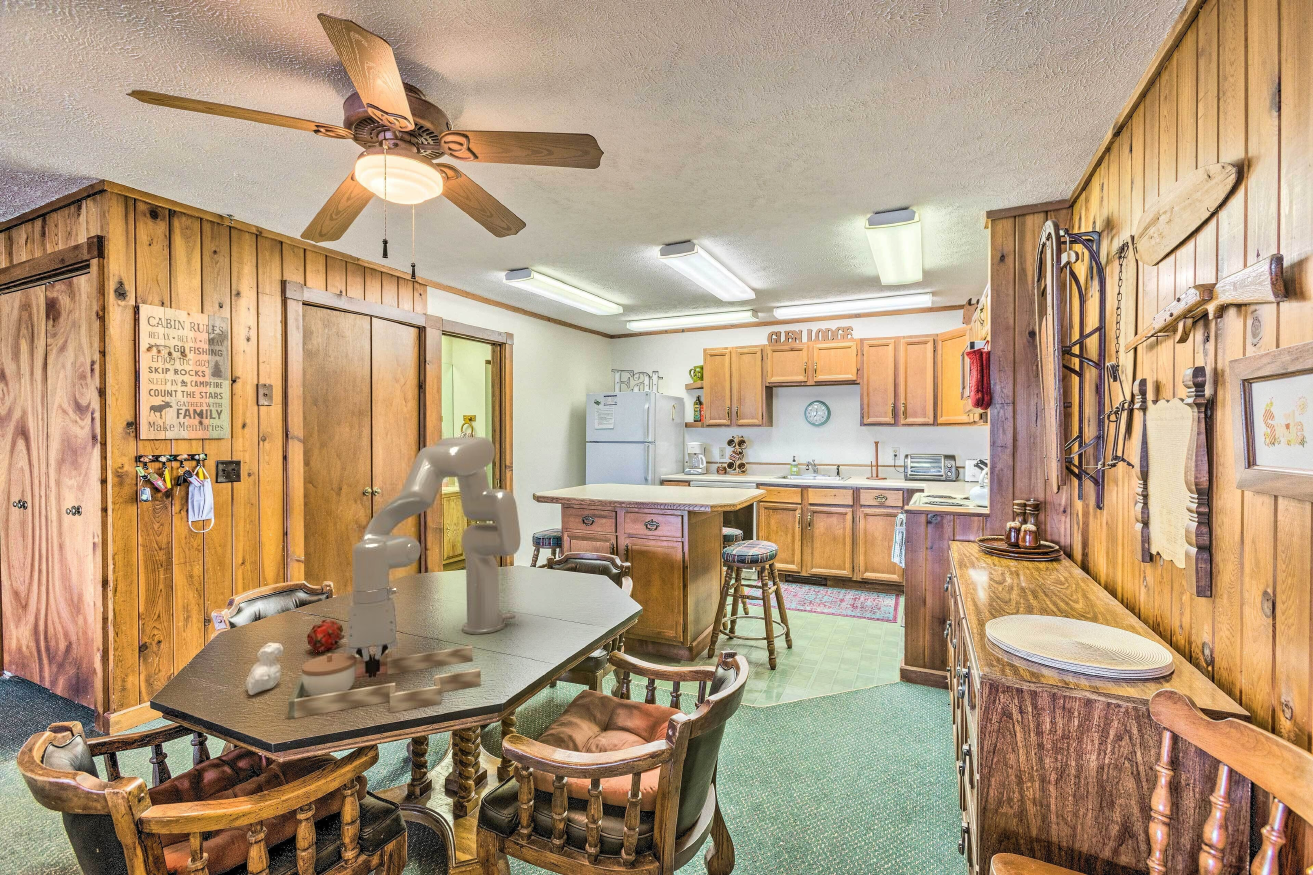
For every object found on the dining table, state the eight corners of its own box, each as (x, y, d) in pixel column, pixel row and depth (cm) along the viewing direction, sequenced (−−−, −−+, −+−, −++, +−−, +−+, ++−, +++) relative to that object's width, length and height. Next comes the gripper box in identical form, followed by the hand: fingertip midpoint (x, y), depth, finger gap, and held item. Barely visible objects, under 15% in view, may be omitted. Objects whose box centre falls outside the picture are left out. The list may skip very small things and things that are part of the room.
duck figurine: (260, 707, 132) (295, 662, 135) (227, 691, 130) (264, 646, 132) (270, 687, 143) (302, 646, 146) (240, 672, 140) (273, 631, 143)
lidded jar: (318, 711, 125) (317, 666, 125) (292, 700, 130) (292, 657, 130) (366, 692, 134) (366, 651, 134) (340, 683, 139) (340, 643, 139)
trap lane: (469, 652, 158) (469, 639, 158) (484, 695, 131) (483, 679, 131) (306, 677, 143) (306, 662, 143) (283, 731, 116) (283, 713, 116)
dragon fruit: (338, 646, 169) (320, 668, 158) (311, 631, 168) (291, 652, 156) (355, 623, 169) (338, 643, 157) (328, 607, 168) (309, 627, 156)
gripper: (406, 588, 142) (408, 664, 142) (336, 595, 136) (337, 675, 136) (406, 595, 135) (408, 675, 135) (332, 603, 129) (333, 687, 129)
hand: (372, 675), depth 136 cm, fingers closed
